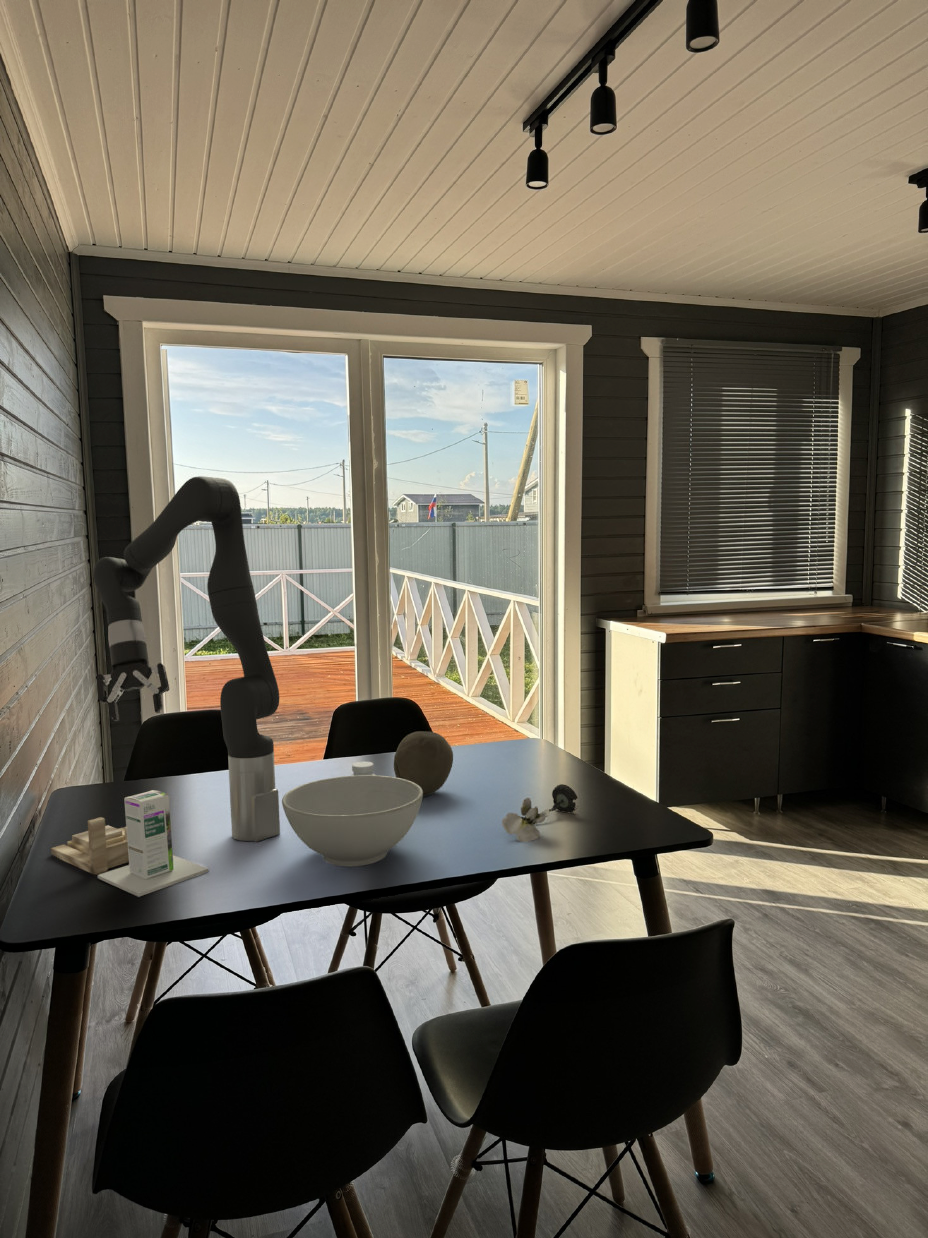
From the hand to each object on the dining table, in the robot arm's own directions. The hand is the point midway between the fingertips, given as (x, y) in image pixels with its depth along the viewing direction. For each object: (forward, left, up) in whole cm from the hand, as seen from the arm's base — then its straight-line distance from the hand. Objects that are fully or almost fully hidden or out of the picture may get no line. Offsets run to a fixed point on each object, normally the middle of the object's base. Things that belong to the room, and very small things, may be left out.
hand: (137, 716), depth 181 cm
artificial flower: (-70, -51, -25) cm, 90 cm away
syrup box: (-26, +14, -24) cm, 38 cm away
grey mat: (-27, +13, -24) cm, 38 cm away
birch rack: (-10, +12, -24) cm, 29 cm away
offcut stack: (-4, +12, -24) cm, 28 cm away
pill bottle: (-34, -34, -25) cm, 53 cm away
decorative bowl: (-50, -16, -25) cm, 57 cm away
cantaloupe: (-34, -54, -25) cm, 68 cm away
